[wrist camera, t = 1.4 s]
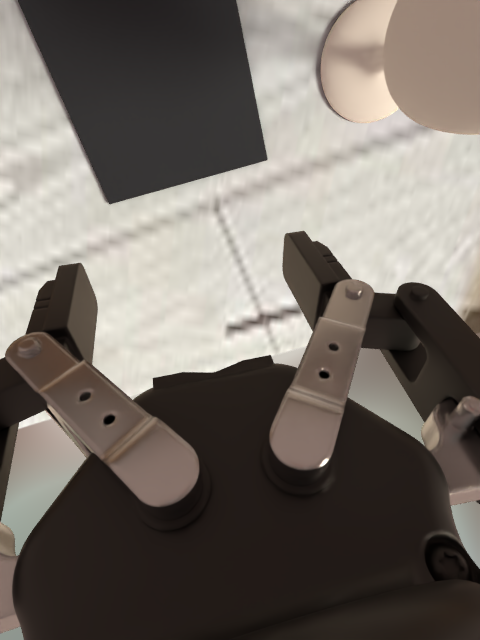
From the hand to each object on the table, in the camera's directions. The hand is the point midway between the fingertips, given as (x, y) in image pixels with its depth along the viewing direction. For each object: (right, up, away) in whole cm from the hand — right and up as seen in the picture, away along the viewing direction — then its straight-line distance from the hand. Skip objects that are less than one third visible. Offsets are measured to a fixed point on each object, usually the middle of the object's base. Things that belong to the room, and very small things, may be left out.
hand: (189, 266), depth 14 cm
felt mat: (-5, +18, +15) cm, 24 cm away
